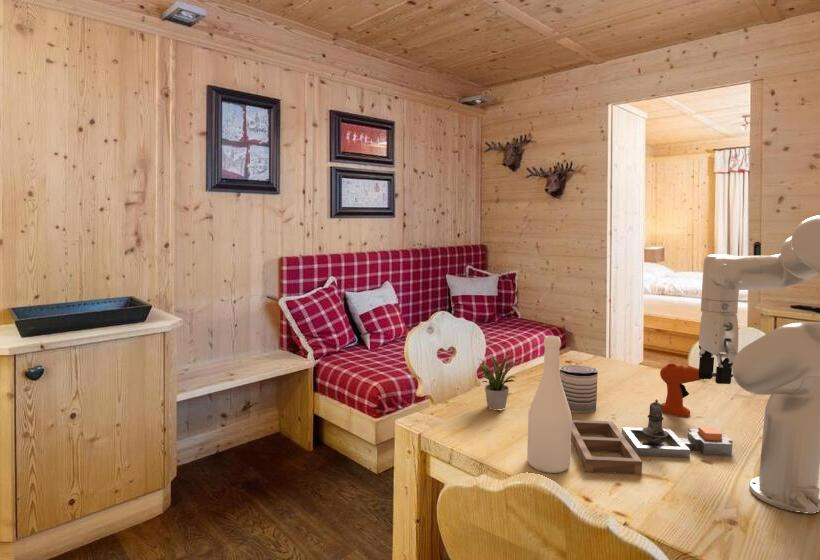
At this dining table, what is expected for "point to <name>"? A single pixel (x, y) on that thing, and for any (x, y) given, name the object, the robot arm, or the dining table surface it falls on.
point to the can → (580, 387)
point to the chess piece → (655, 426)
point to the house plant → (497, 383)
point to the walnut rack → (604, 448)
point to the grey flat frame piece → (678, 444)
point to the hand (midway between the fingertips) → (714, 377)
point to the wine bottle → (550, 417)
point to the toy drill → (679, 386)
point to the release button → (709, 433)
